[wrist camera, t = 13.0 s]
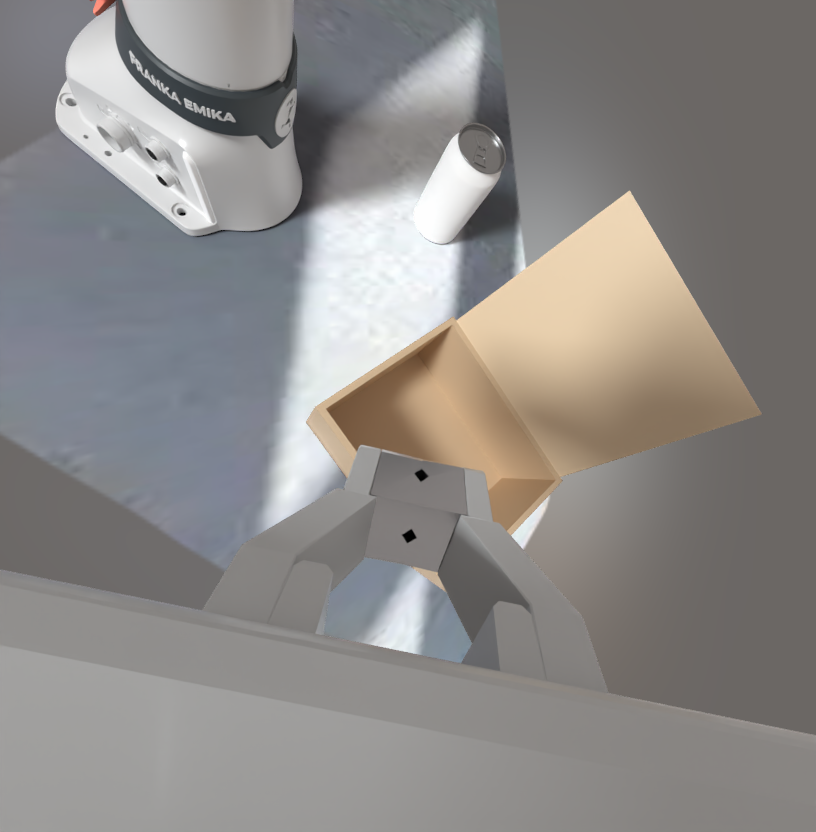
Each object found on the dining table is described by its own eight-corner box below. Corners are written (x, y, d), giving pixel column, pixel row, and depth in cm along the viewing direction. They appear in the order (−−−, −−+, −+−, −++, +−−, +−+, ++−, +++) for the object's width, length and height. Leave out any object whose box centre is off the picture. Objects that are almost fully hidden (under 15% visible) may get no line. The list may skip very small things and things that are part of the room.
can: (459, 211, 49) (512, 136, 38) (453, 252, 48) (506, 187, 37) (416, 192, 47) (458, 107, 36) (408, 235, 46) (450, 160, 35)
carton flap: (761, 414, 27) (760, 412, 27) (629, 190, 25) (629, 190, 25) (560, 477, 37) (560, 475, 37) (456, 320, 35) (457, 319, 35)
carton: (411, 567, 40) (452, 596, 31) (305, 421, 39) (315, 406, 29) (504, 478, 46) (562, 481, 37) (416, 348, 44) (453, 316, 35)
